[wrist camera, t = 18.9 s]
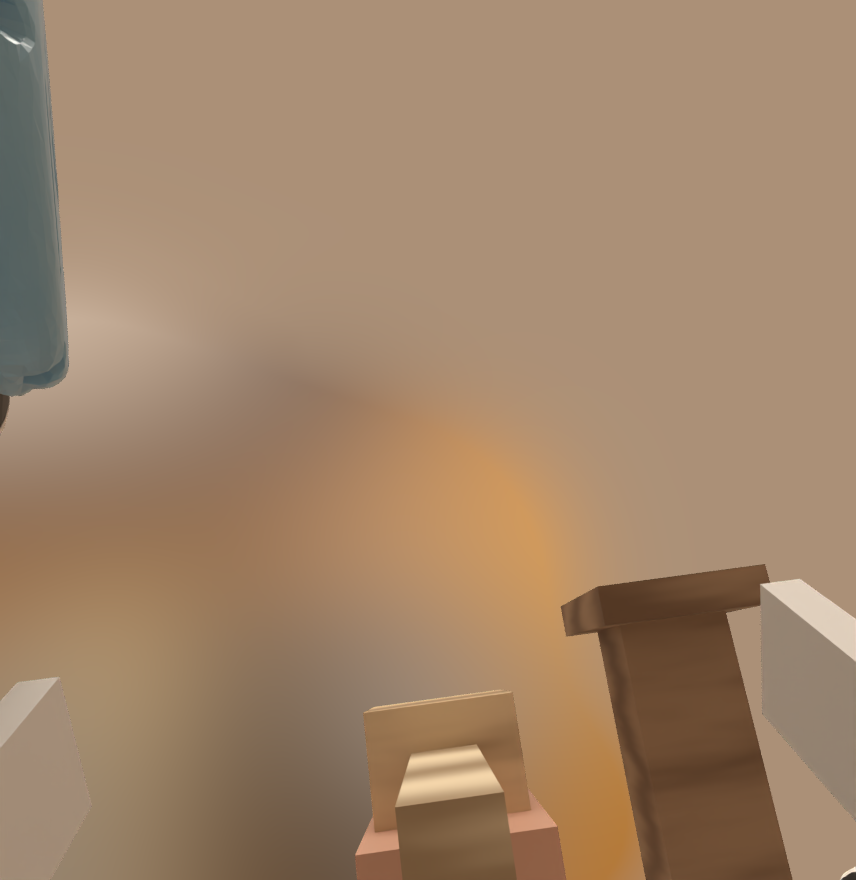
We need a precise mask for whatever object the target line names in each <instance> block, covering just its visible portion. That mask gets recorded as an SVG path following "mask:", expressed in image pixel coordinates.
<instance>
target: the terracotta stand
mask: <svg viewBox="0 0 856 880" xmlns="http://www.w3.org/2000/svg"><path fill="white" fill-rule="evenodd" d="M528 793H529V800H530V806H531V810H529V811H522V812H515V813H508V814H507V816H508V823H509V829H510V836H511V843H512V850H513V857H514V863H515V870H516V877H517V880H566V876H565V869H564V863H563V857H562V851H561V845H560V839H559V833H558V827H557V825H556V824H555V823H554V821H553V820H552V819H551V817H550V816H549V815H548V814H547V813H546V811H545V810H544V808H543V807H542V806H541V805H540V803H539V802H538V801H537V799H536V798H535V797H534V796H533V794H532V793H531V792H530V790H529V789H528ZM355 860H356V871H357V880H402V870H401V861H400V851H399V842H398V832H397V829H396V830H390V831H383V832H376V833H375V830H374V819H373V817H372V820H371V822H370V824H369V826H368V828H367V830H366V833H365V835H364V837H363V839H362V842H361V843H360V846H359V848H358V850H357V852H356V854H355Z"/></svg>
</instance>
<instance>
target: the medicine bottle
mask: <svg viewBox="0 0 856 880" xmlns="http://www.w3.org/2000/svg"><path fill="white" fill-rule="evenodd" d="M840 880H856V867H854V868H852V869H850V870H849V871H847V872H845V873H844V874H843V875H842V877H841V879H840Z"/></svg>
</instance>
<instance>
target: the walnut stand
mask: <svg viewBox="0 0 856 880" xmlns="http://www.w3.org/2000/svg"><path fill="white" fill-rule="evenodd" d="M765 583H770V581H769V577H768V574H767V570H766V566H765V564H763V565H755V566H749V567H740V568H733V569H726V570H718V571H710V572H703V573H696V574H688V575H681V576H674V577H667V578H658V579H651V580H643V581H636V582H629V583H622V584H614V585H607V586H599V587H596V588H595V589H592V590H590V591H589V592H587V593H585V594H583V595H581V596H579V597H577V598H576V599H574V600H572V601H570V602H568V603H567V604H565V605H563V606H561V609H562V616H563V621H564V627H565V632H566V636H574V635H581V634H588V633H596V632H598V636H599V641H600V647H601V652H602V656H603V661H604V667H605V672H606V677H607V682H608V688H609V693H610V697H611V702H612V708H613V713H614V718H615V723H616V728H617V734H618V739H619V744H620V749H621V754H622V759H623V764H624V769H625V775H626V779H627V785H628V790H629V795H630V800H631V805H632V810H633V816H634V820H635V826H636V831H637V836H638V841H639V846H640V851H641V857H642V861H643V867H644V872H645V877H646V880H792V876H791V872H790V868H789V864H788V860H787V856H786V852H785V848H784V844H783V840H782V836H781V832H780V828H779V824H778V820H777V816H776V812H775V808H774V804H773V800H772V796H771V792H770V788H769V783H768V780H767V775H766V771H765V768H764V763H763V759H762V756H761V751H760V748H759V743H758V739H757V735H756V731H755V728H754V723H753V720H752V716H751V711H750V707H749V703H748V699H747V695H746V691H745V688H744V683H743V679H742V676H741V671H740V667H739V663H738V659H737V656H736V652H735V647H734V643H733V639H732V635H731V631H730V627H729V624H728V619H727V615H726V613H727V612H732V611H736V610H741V609H746V608H751V607H756V606H760V605H761V601H760V584H765Z"/></svg>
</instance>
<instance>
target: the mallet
mask: <svg viewBox="0 0 856 880" xmlns="http://www.w3.org/2000/svg"><path fill="white" fill-rule="evenodd" d="M363 716H364V726H365V736H366V747H367V757H368V768H369V777H370V788H371V799H372V809H373V819H374V830H375V833H376V832H383V831H390V830H396V829H397V832H398V842H399V851H400V861H401V870H402V880H517V877H516V870H515V863H514V857H513V850H512V843H511V836H510V829H509V823H508V816H507V814H508V813H515V812H522V811H529V810H531V806H530V800H529V793H528V787H527V780H526V774H525V768H524V762H523V755H522V749H521V742H520V736H519V729H518V723H517V717H516V711H515V704H514V698H513V692H509V691H505V690H494V691H488V692H480V693H473V694H466V695H458V696H451V697H445V698H436V699H429V700H423V701H415V702H407V703H401V704H393V705H386V706H379V707H373V708H371V709H370V710H368V711H366V712H364V713H363Z"/></svg>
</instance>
